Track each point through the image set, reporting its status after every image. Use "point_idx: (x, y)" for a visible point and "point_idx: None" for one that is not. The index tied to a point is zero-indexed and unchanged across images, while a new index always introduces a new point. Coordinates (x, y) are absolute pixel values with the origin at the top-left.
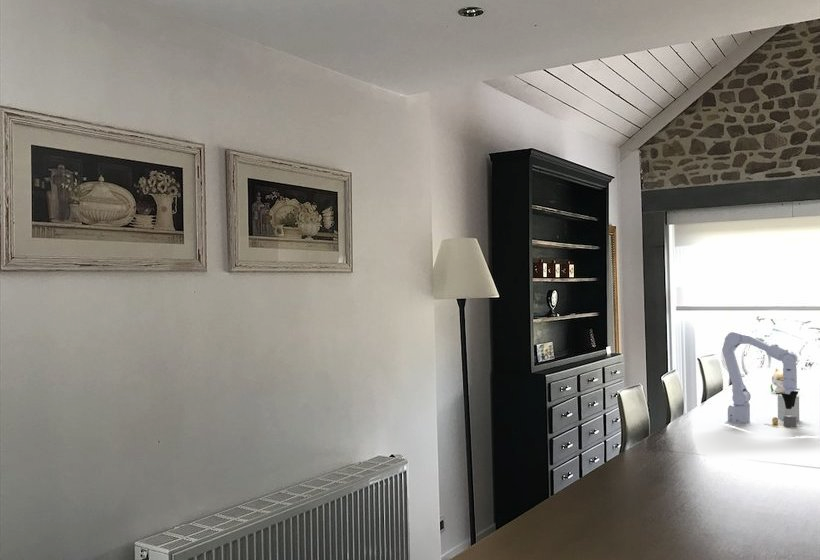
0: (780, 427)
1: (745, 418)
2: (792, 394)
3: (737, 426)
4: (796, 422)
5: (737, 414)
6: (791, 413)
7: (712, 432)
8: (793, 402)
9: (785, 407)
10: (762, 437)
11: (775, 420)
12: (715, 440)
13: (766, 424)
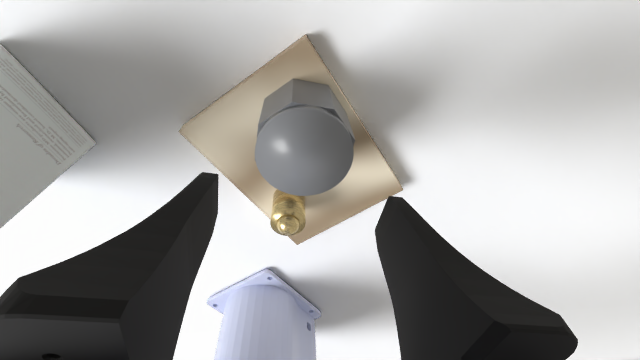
0: (381, 173)
1: (290, 316)
2: (508, 356)
3: (348, 306)
4: (306, 91)
5: (309, 355)
6: (4, 131)
7: None
8: (201, 209)
9: (10, 206)
10: (596, 230)
11: (304, 214)
12: (626, 329)
13: (307, 232)
